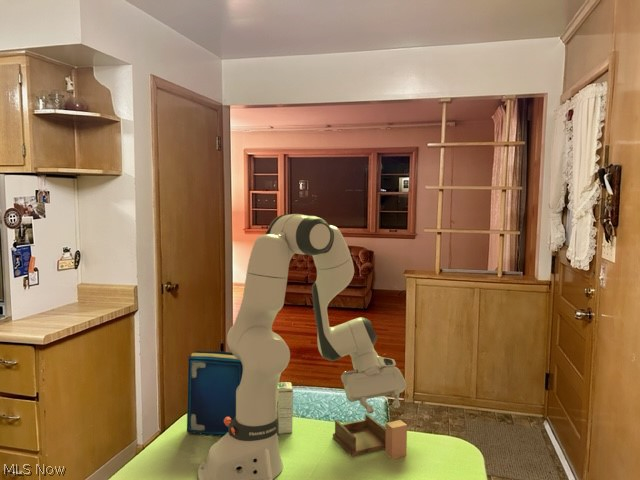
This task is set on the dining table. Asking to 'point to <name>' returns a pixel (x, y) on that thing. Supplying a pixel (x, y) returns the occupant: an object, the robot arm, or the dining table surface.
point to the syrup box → (285, 406)
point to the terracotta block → (396, 439)
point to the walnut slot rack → (360, 436)
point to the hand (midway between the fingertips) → (384, 409)
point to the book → (212, 391)
